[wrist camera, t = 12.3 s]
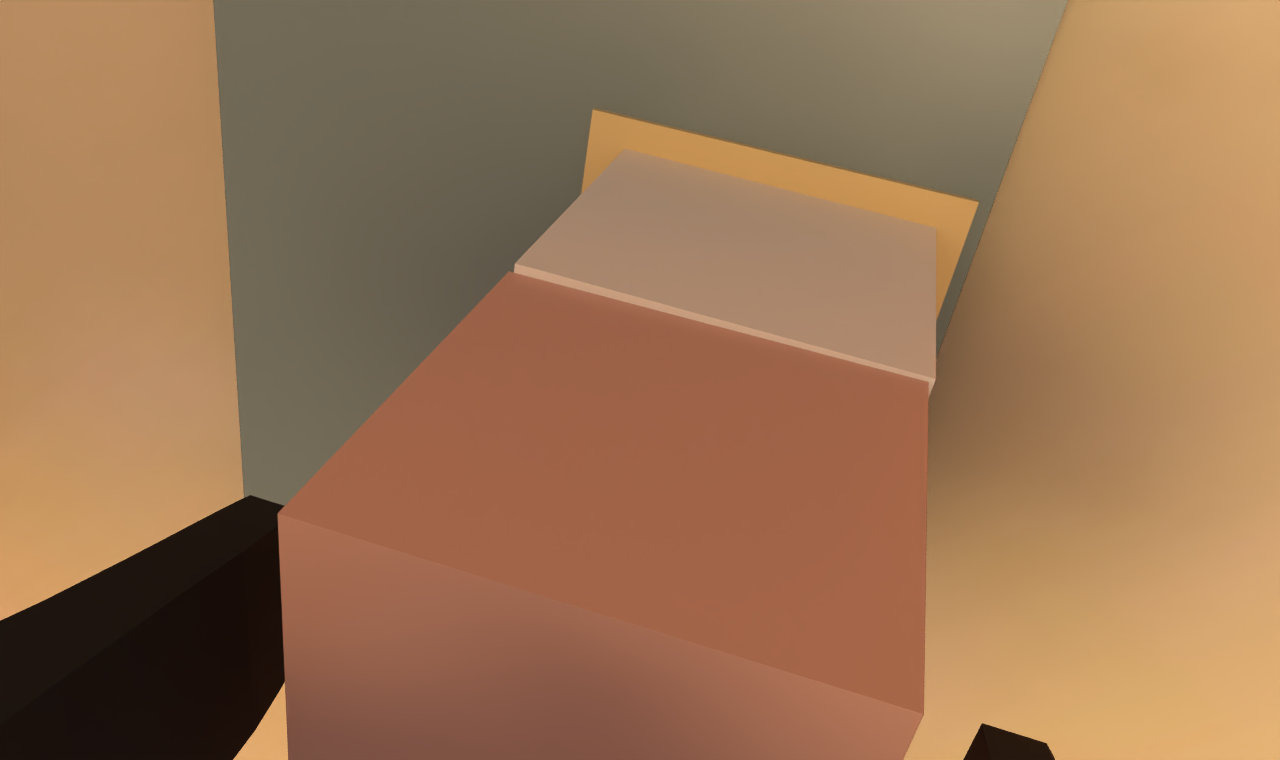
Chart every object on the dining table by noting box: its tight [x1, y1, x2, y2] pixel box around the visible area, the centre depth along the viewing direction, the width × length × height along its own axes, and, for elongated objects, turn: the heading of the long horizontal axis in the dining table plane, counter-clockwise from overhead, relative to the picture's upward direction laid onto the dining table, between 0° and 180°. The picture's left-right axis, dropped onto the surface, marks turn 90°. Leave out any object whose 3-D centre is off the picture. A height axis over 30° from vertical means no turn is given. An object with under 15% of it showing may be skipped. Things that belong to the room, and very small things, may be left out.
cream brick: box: [514, 149, 936, 398], centre depth 14 cm, size 5×6×4 cm
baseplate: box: [213, 0, 1068, 506], centre depth 17 cm, size 12×20×1 cm, turn 171°
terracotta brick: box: [278, 271, 929, 760], centre depth 10 cm, size 5×6×4 cm
